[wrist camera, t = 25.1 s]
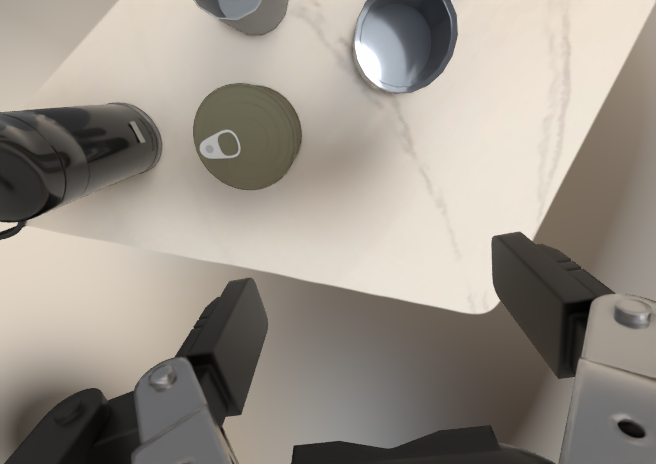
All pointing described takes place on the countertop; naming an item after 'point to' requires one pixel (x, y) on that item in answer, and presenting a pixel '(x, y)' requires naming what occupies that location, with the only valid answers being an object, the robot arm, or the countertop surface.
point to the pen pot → (404, 43)
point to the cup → (247, 13)
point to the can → (246, 135)
